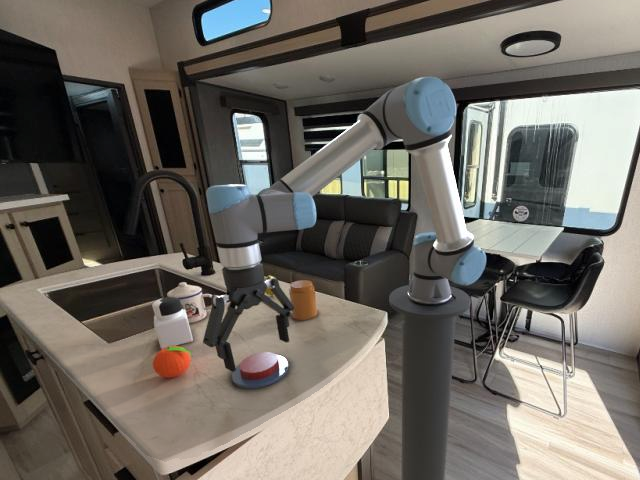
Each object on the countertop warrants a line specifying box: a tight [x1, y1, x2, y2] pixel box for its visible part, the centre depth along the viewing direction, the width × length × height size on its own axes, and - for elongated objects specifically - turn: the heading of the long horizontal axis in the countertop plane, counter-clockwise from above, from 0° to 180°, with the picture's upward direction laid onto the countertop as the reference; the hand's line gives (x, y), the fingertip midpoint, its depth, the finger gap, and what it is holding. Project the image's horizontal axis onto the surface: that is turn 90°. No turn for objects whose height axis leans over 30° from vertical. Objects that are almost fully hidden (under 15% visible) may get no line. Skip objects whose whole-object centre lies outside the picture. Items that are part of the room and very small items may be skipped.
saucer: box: [231, 354, 289, 390], centre depth 73 cm, size 12×12×1 cm
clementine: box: [152, 345, 192, 378], centre depth 71 cm, size 8×7×7 cm
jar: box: [288, 279, 318, 321], centre depth 100 cm, size 8×8×11 cm
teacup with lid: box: [166, 281, 213, 324], centre depth 98 cm, size 12×9×12 cm
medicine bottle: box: [151, 296, 194, 350], centre depth 85 cm, size 7×7×12 cm
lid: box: [239, 351, 279, 380], centre depth 73 cm, size 8×8×2 cm
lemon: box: [264, 274, 276, 297], centre depth 115 cm, size 6×6×8 cm
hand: (259, 353), depth 72 cm, fingers open, 13 cm apart
